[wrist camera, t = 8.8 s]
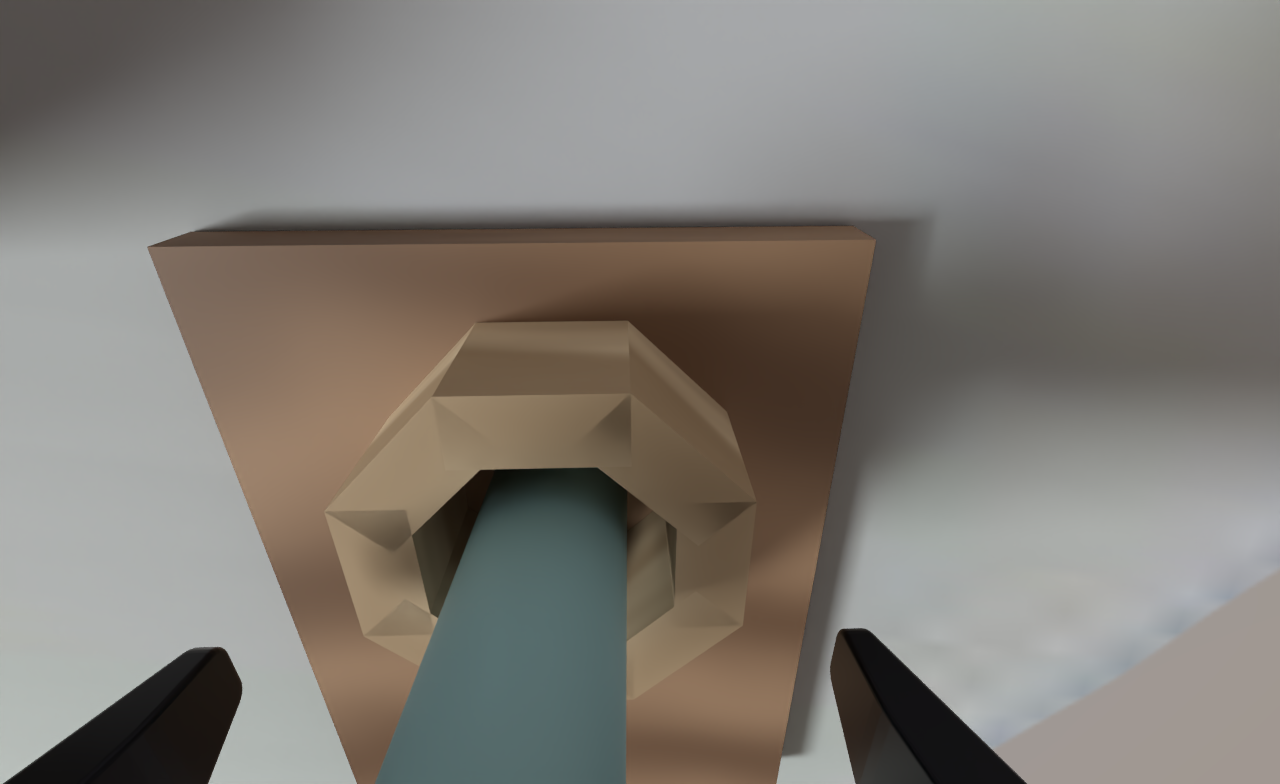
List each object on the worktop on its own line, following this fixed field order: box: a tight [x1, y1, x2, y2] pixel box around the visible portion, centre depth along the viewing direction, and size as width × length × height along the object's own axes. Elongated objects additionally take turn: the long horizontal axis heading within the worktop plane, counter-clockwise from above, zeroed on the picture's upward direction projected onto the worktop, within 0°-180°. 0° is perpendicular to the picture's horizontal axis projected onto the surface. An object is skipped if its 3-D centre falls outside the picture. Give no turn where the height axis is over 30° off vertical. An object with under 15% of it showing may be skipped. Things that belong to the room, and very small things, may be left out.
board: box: [147, 226, 876, 784], centre depth 15 cm, size 18×13×1 cm
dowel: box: [375, 467, 627, 784], centre depth 8 cm, size 3×3×10 cm
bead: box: [324, 321, 757, 700], centre depth 12 cm, size 7×7×3 cm
